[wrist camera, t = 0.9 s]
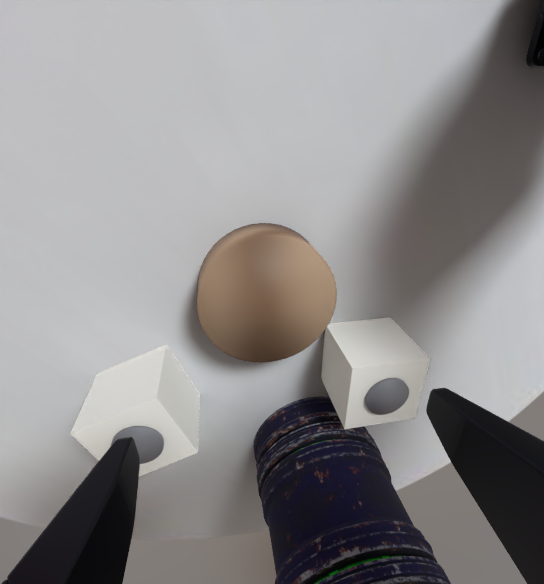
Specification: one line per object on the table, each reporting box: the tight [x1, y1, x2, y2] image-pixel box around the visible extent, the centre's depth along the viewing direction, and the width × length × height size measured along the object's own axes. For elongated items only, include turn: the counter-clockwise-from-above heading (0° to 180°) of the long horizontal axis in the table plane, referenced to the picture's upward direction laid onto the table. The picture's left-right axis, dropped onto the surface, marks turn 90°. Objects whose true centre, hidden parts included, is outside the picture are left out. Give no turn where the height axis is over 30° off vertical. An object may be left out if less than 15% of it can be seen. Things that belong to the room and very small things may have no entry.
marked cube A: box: [321, 317, 431, 429], centre depth 23 cm, size 5×5×5 cm
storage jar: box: [254, 397, 451, 584], centre depth 22 cm, size 10×10×15 cm
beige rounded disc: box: [197, 223, 337, 362], centre depth 20 cm, size 8×8×3 cm
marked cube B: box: [70, 344, 200, 477], centre depth 21 cm, size 5×5×5 cm
